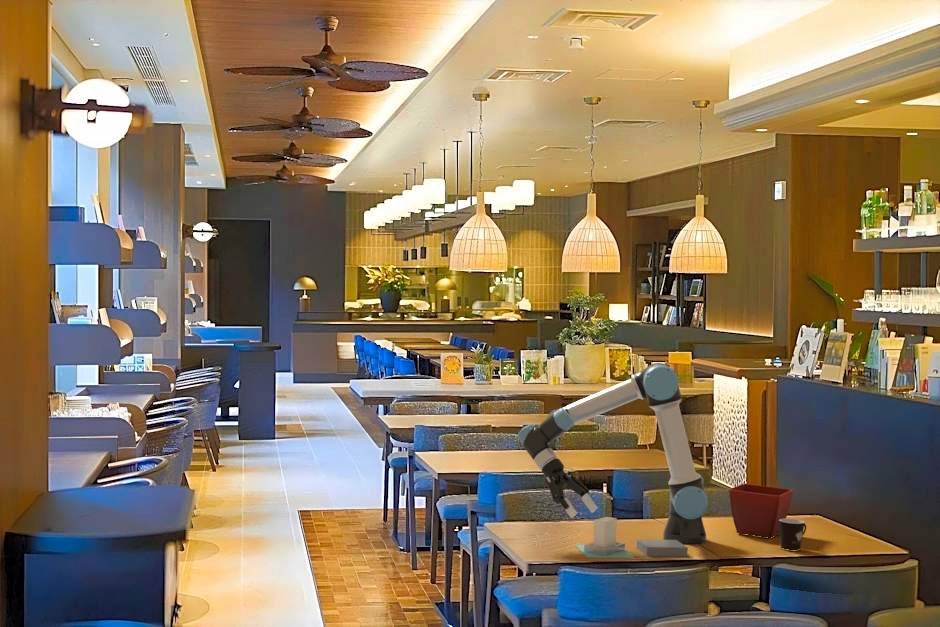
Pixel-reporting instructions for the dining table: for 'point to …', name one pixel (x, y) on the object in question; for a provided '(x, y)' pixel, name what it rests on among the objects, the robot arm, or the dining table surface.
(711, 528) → the dining table surface
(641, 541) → the plate
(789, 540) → the coffee mug
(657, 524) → the dining table surface
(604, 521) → the block
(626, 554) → the mat
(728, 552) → the dining table surface
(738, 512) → the plant pot
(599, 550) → the holder
